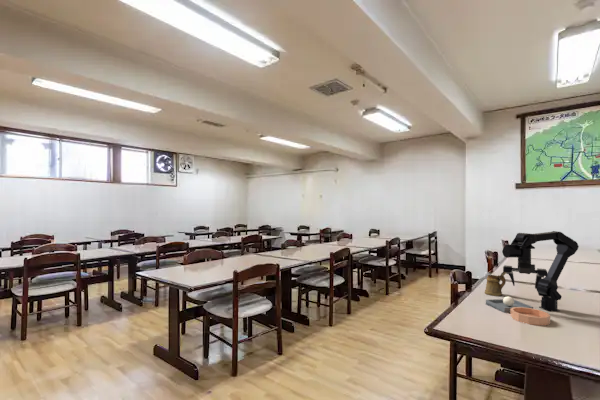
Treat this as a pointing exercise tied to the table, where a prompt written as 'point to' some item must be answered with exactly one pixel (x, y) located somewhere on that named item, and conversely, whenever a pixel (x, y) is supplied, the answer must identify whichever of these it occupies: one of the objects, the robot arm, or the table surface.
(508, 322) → the table surface
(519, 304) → the tray
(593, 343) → the table surface
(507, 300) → the ball
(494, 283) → the wooden mug
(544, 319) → the bowl
